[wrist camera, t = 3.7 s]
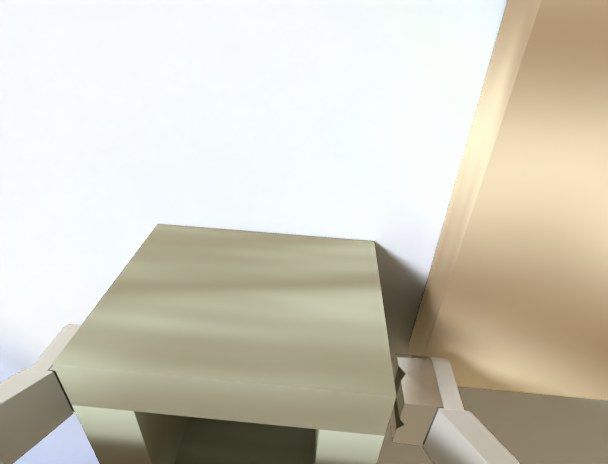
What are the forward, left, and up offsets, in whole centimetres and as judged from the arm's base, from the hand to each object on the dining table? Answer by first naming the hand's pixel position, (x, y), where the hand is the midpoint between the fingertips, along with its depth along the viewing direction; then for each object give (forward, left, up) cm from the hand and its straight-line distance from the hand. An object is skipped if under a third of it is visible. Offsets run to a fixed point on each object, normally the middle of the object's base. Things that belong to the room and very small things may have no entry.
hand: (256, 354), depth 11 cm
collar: (0, 0, -2) cm, 2 cm away
